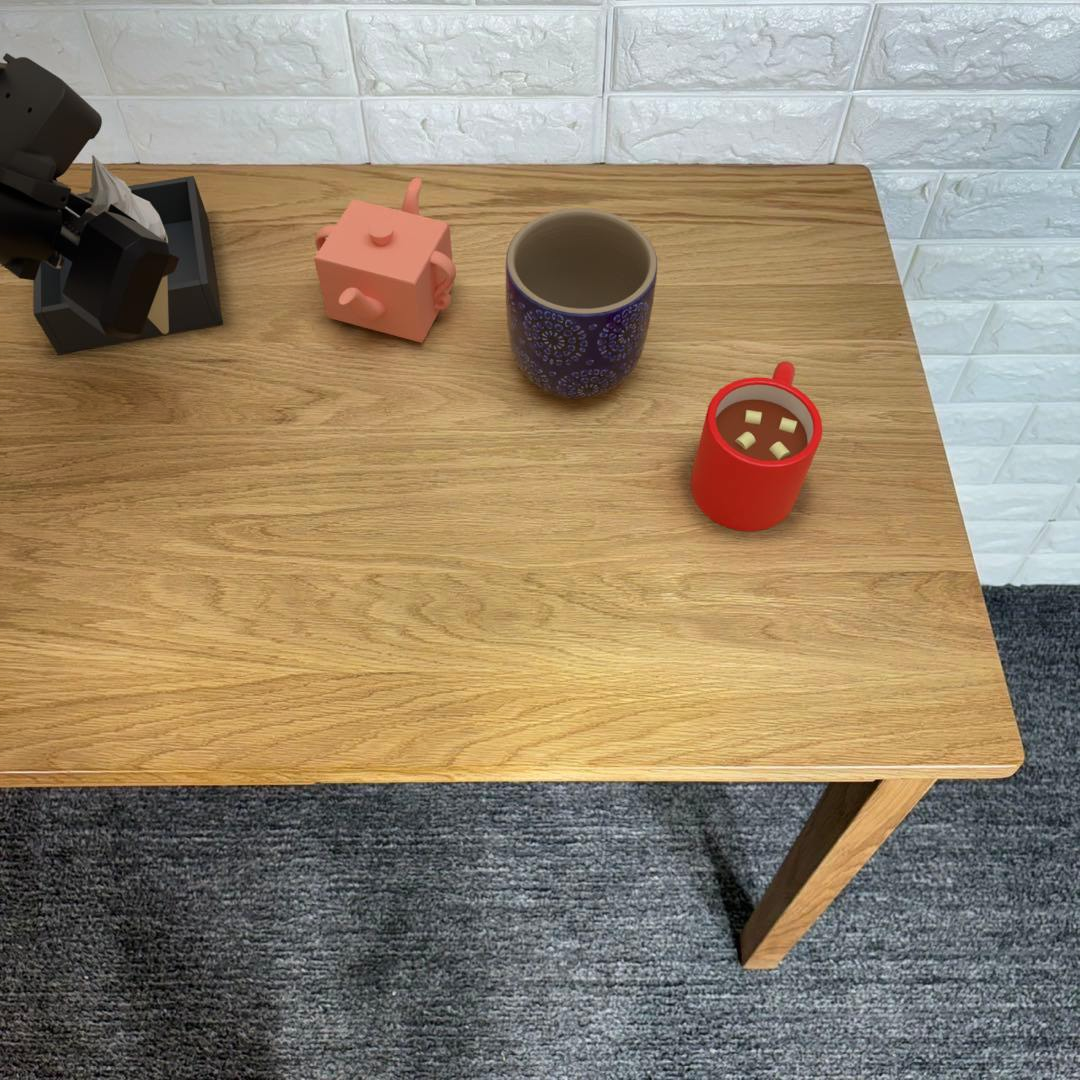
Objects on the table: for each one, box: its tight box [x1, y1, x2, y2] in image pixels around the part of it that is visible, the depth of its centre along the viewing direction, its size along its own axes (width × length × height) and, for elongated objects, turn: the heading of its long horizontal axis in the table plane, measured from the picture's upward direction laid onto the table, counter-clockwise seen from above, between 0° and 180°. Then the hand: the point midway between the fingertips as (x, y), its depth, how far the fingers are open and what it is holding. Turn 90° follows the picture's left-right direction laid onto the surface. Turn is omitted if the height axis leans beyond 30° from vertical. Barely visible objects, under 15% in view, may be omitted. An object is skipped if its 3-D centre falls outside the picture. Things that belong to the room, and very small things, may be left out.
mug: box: [690, 360, 824, 532], centre depth 72 cm, size 8×12×8 cm, turn 160°
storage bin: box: [32, 175, 224, 355], centre depth 83 cm, size 13×13×5 cm
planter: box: [505, 207, 658, 400], centre depth 76 cm, size 11×11×11 cm
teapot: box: [313, 177, 457, 344], centre depth 80 cm, size 12×15×8 cm
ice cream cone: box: [86, 154, 169, 335], centre depth 67 cm, size 5×5×15 cm
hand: (149, 246), depth 68 cm, fingers closed on ice cream cone, 5 cm apart
